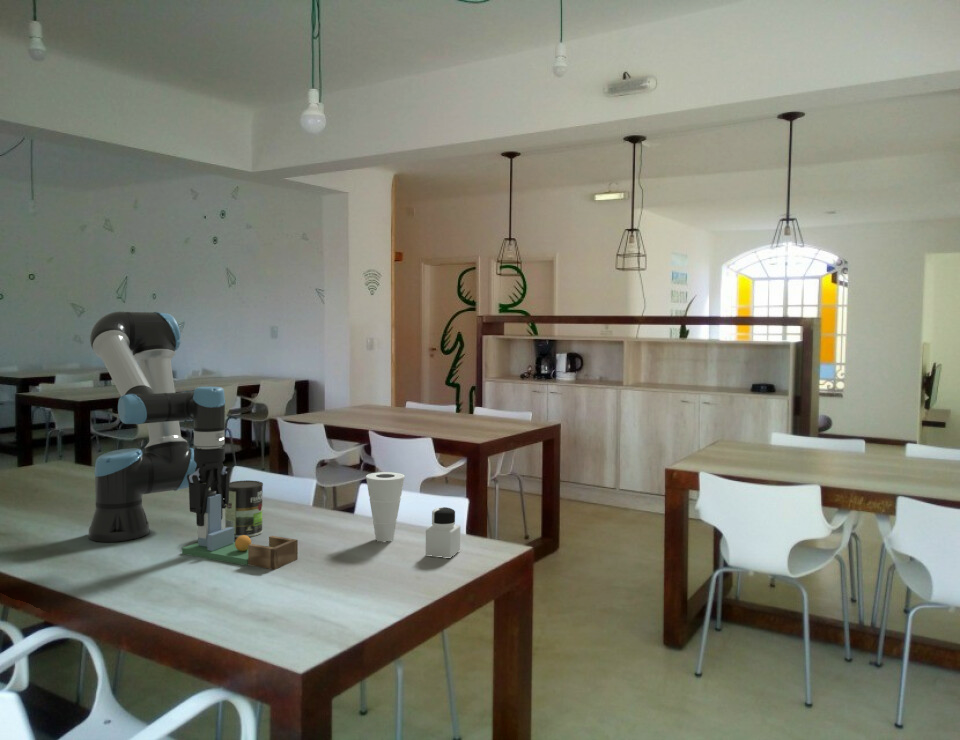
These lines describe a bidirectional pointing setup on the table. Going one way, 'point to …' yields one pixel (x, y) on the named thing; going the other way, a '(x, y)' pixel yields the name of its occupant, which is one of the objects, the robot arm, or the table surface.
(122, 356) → the robot arm
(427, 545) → the medicine bottle
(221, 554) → the plate
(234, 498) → the coffee can
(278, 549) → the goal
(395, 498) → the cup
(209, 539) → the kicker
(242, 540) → the ball
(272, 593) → the table surface
